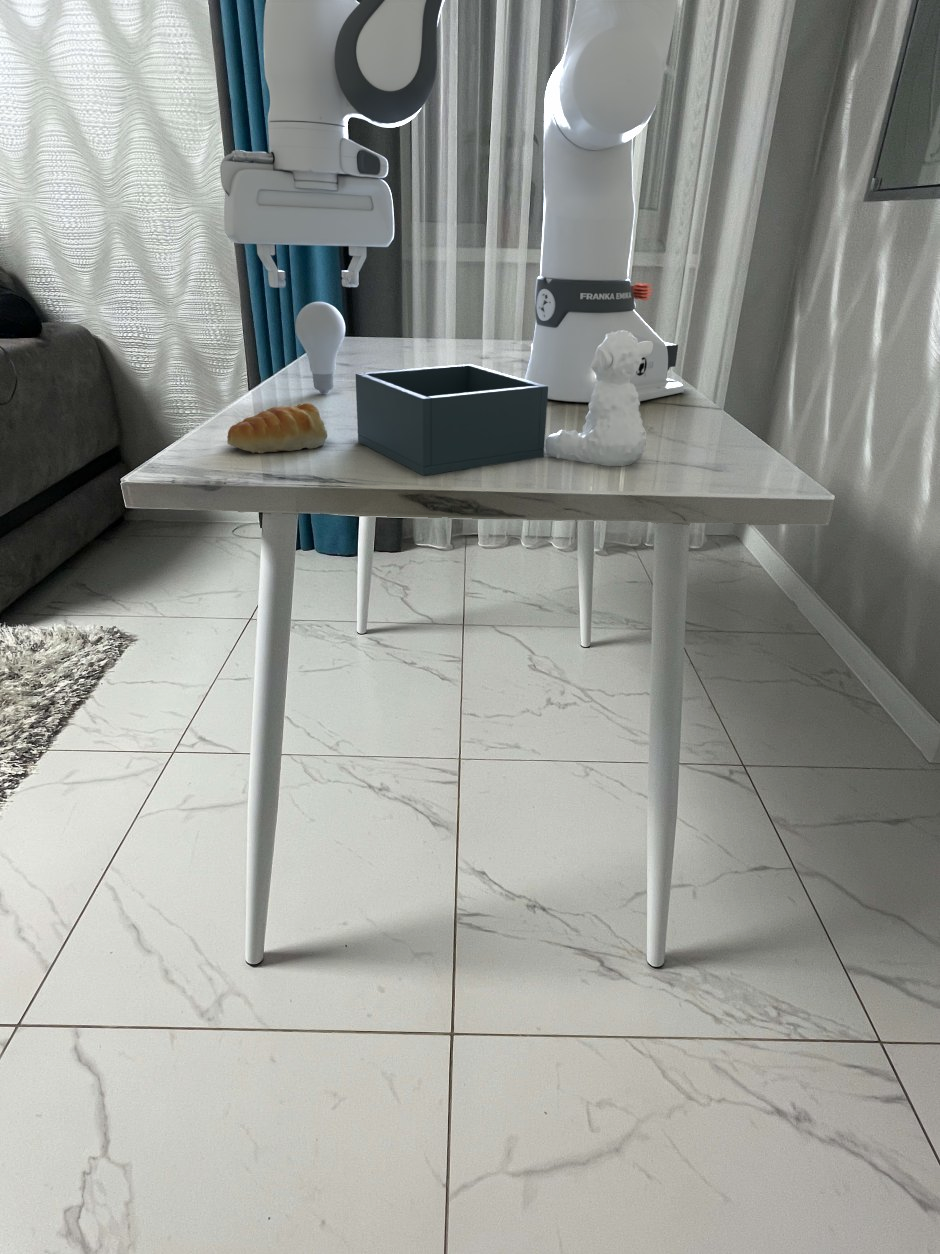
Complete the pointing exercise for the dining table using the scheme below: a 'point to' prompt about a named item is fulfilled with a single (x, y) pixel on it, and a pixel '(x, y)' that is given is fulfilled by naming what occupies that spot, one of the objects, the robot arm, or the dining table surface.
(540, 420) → the bin
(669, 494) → the dining table surface
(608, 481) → the dining table surface
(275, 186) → the robot arm
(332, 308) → the lightbulb
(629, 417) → the sitting furry creature
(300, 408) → the pastry
